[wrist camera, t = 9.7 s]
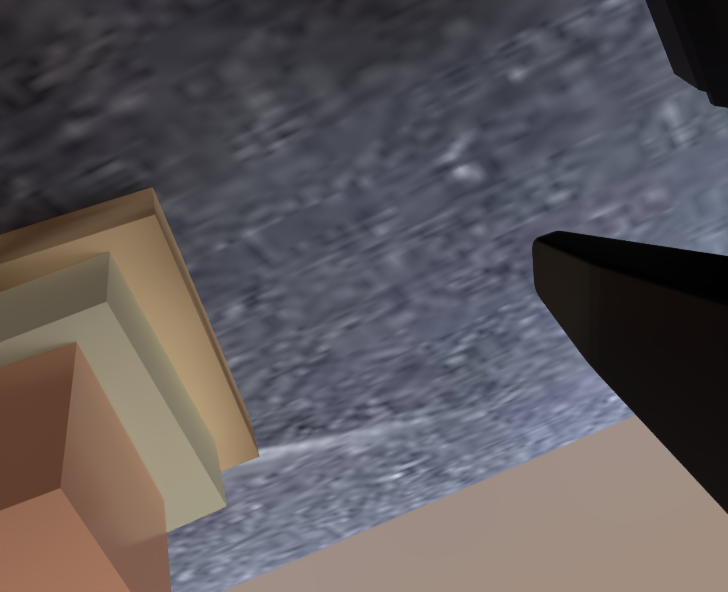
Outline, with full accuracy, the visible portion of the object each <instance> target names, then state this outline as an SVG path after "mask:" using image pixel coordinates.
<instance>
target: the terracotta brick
mask: <svg viewBox="0 0 728 592" xmlns="http://www.w3.org/2000/svg"><path fill="white" fill-rule="evenodd" d="M0 592H171V583H170V570H169V557H168V544H167V532H166V519H165V506H164V499H163V497H162V496H161V494H160V492H159V490H158V488H157V487H156V485H155V483H154V481H153V479H152V478H151V476H150V474H149V472H148V470H147V468H146V467H145V465H144V463H143V461H142V459H141V458H140V456H139V454H138V452H137V450H136V448H135V447H134V445H133V443H132V441H131V439H130V438H129V436H128V434H127V432H126V430H125V429H124V427H123V425H122V423H121V421H120V419H119V418H118V416H117V414H116V412H115V410H114V409H113V407H112V405H111V403H110V401H109V399H108V398H107V396H106V394H105V392H104V390H103V389H102V387H101V385H100V383H99V381H98V380H97V378H96V376H95V374H94V372H93V370H92V369H91V367H90V365H89V363H88V361H87V360H86V358H85V356H84V354H83V352H82V351H81V349H80V347H79V345H78V343H77V342H76V343H73V344H70V345H67V346H64V347H61V348H58V349H55V350H52V351H49V352H46V353H43V354H40V355H37V356H34V357H31V358H28V359H25V360H22V361H19V362H16V363H13V364H10V365H7V366H4V367H1V368H0Z"/></svg>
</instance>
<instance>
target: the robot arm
mask: <svg viewBox="0 0 728 592" xmlns="http://www.w3.org/2000/svg"><path fill="white" fill-rule="evenodd" d="M646 3H647V5H648V8H649V10H650V13H651V16H652V18H653V21H654V23H655V26H656V28H657V31H658V34H659V36H660V39H661V41H662V44H663V46H664V49H665V51H666V54H667V57H668V59H669V62H670V64H671V67H672V69H673V72H674V74H676V75H677V76H679V77H680V78H682V79H683V80H685V81H686V82H688V83H689V84H691V85H692V86H694V87H695V88H697V89H698V90H701V91H705V92H706V93H707V95H708V98H709V101H710V103H711V104H713V105H714V106H719V107H726V108H728V0H646ZM532 255H533V274H534V285H535V289H536V292H537V294H538V296H539V297H540V299H541V300H542V301H543V303H544V304H545V305H546V307H547V308H548V310H549V311H550V312H551V314H552V315H553V316H554V318H555V319H556V320H557V322H558V323H559V325H560V326H561V327H562V329H563V330H564V331H565V333H566V334H567V335H568V337H569V338H570V340H571V341H572V342H573V344H574V345H575V346H576V348H577V349H578V351H579V352H580V353H581V354H582V356H583V357H584V358H585V360H586V361H587V362H588V363H589V364H590V366H591V367H592V368H593V369H594V370H595V371H596V372H597V374H598V375H599V376H600V377H601V378H602V379H603V380H604V381H605V382H606V383H607V384H608V385H609V387H610V388H611V389H612V390H613V391H614V392H615V393H616V394H617V395H618V396H619V397H620V398H621V399H622V401H623V402H624V403H625V404H626V405H627V406H628V407H629V408H630V409H631V410H632V411H633V412H634V413H635V415H636V416H637V417H638V418H639V419H640V420H641V421H642V422H643V423H644V424H645V425H646V426H647V427H648V428H649V429H650V431H651V432H652V433H654V435H655V436H656V437H657V438H658V439H659V440H660V441H661V443H662V444H663V445H664V446H665V447H666V448H667V449H668V450H669V451H670V452H671V453H672V454H673V455H674V456H675V457H676V459H677V460H678V461H679V462H680V463H681V464H682V465H683V466H684V467H685V468H686V469H687V470H688V472H689V473H690V474H691V475H692V476H693V477H694V478H695V479H696V480H697V481H698V482H699V484H701V486H702V487H703V488H704V489H705V490H706V491H707V492H708V493H709V494H710V495H711V496H712V497H713V499H714V500H715V501H716V502H717V503H718V504H719V505H720V506H721V507H722V508H723V509H724V510H725V512H726V513H727V514H728V256H724V255H717V254H711V253H704V252H697V251H691V250H684V249H678V248H671V247H664V246H658V245H651V244H644V243H638V242H631V241H625V240H618V239H611V238H605V237H598V236H591V235H585V234H578V233H572V232H565V231H554V232H551V233H549V234H546V235H543V236H540V237H538V238H536V239H535V241H534V242H533V246H532Z"/></svg>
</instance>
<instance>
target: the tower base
mask: <svg viewBox="0 0 728 592" xmlns="http://www.w3.org/2000/svg"><path fill="white" fill-rule="evenodd" d="M107 252H110V253H111V254H112V256H113V258H114V260H115V262H116V263H117V265H118V267H119V269H120V271H121V272H122V274H123V276H124V278H125V280H126V281H127V283H128V285H129V287H130V289H131V290H132V292H133V294H134V296H135V298H136V299H137V301H138V303H139V305H140V307H141V309H142V310H143V312H144V314H145V316H146V318H147V319H148V321H149V323H150V325H151V327H152V328H153V330H154V332H155V334H156V336H157V337H158V339H159V341H160V343H161V345H162V346H163V348H164V350H165V352H166V354H167V355H168V357H169V359H170V361H171V363H172V364H173V366H174V368H175V370H176V372H177V373H178V375H179V377H180V379H181V381H182V382H183V384H184V386H185V388H186V390H187V391H188V393H189V395H190V397H191V399H192V400H193V402H194V404H195V406H196V408H197V410H198V411H199V413H200V415H201V417H202V419H203V420H204V422H205V424H206V426H207V428H208V429H209V431H210V433H211V435H212V437H213V438H214V440H215V442H216V446H217V452H218V458H219V464H220V470H221V471H224V470H226V469H229V468H231V467H234V466H236V465H239V464H241V463H244V462H246V461H249V460H251V459H254V458H257V457H259V453H258V449H257V445H256V441H255V437H254V433H253V429H252V425H251V421H250V417H249V414H248V412H247V409H246V407H245V405H244V402H243V400H242V398H241V395H240V393H239V390H238V388H237V386H236V383H235V381H234V379H233V376H232V374H231V372H230V369H229V367H228V364H227V362H226V360H225V357H224V355H223V353H222V350H221V348H220V346H219V343H218V341H217V338H216V336H215V334H214V331H213V329H212V327H211V324H210V322H209V320H208V317H207V315H206V312H205V310H204V308H203V305H202V303H201V301H200V298H199V296H198V293H197V291H196V289H195V286H194V284H193V282H192V279H191V277H190V275H189V272H188V270H187V267H186V265H185V263H184V260H183V258H182V256H181V253H180V251H179V249H178V246H177V244H176V241H175V239H174V237H173V234H172V232H171V230H170V227H169V225H168V223H167V220H166V218H165V215H164V213H163V211H162V208H161V206H160V204H159V201H158V199H157V197H156V194H155V192H154V189H153V187H151V188H148V189H144V190H141V191H138V192H135V193H132V194H128V195H125V196H122V197H119V198H116V199H112V200H109V201H106V202H103V203H100V204H96V205H93V206H90V207H87V208H84V209H80V210H77V211H74V212H71V213H68V214H64V215H61V216H58V217H55V218H52V219H48V220H45V221H42V222H39V223H35V224H32V225H29V226H26V227H23V228H19V229H16V230H13V231H10V232H7V233H3V234H0V292H2V291H5V290H8V289H10V288H13V287H16V286H18V285H21V284H24V283H26V282H29V281H32V280H35V279H37V278H40V277H43V276H45V275H48V274H51V273H53V272H56V271H59V270H62V269H64V268H67V267H70V266H72V265H75V264H78V263H80V262H83V261H86V260H88V259H91V258H94V257H97V256H99V255H102V254H105V253H107Z"/></svg>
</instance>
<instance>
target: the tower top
mask: <svg viewBox="0 0 728 592" xmlns="http://www.w3.org/2000/svg"><path fill="white" fill-rule="evenodd" d="M76 342H77V343H78V345H79V347H80V349H81V351H82V352H83V354H84V356H85V358H86V360H87V361H88V363H89V365H90V367H91V369H92V370H93V372H94V374H95V376H96V378H97V380H98V381H99V383H100V385H101V387H102V389H103V390H104V392H105V394H106V396H107V398H108V399H109V401H110V403H111V405H112V407H113V409H114V410H115V412H116V414H117V416H118V418H119V419H120V421H121V423H122V425H123V427H124V429H125V430H126V432H127V434H128V436H129V438H130V439H131V441H132V443H133V445H134V447H135V448H136V450H137V452H138V454H139V456H140V458H141V459H142V461H143V463H144V465H145V467H146V468H147V470H148V472H149V474H150V476H151V478H152V479H153V481H154V483H155V485H156V487H157V488H158V490H159V492H160V494H161V496H162V497H163V499H164V506H165V519H166V532H169V531H172V530H174V529H176V528H179V527H181V526H183V525H185V524H188V523H190V522H192V521H194V520H197V519H199V518H201V517H203V516H206V515H208V514H210V513H213V512H215V511H217V510H219V509H222V508H224V507H226V506H227V504H226V499H225V493H224V487H223V481H222V475H221V470H220V464H219V458H218V452H217V446H216V442H215V440H214V438H213V437H212V435H211V433H210V431H209V429H208V428H207V426H206V424H205V422H204V420H203V419H202V417H201V415H200V413H199V411H198V410H197V408H196V406H195V404H194V402H193V400H192V399H191V397H190V395H189V393H188V391H187V390H186V388H185V386H184V384H183V382H182V381H181V379H180V377H179V375H178V373H177V372H176V370H175V368H174V366H173V364H172V363H171V361H170V359H169V357H168V355H167V354H166V352H165V350H164V348H163V346H162V345H161V343H160V341H159V339H158V337H157V336H156V334H155V332H154V330H153V328H152V327H151V325H150V323H149V321H148V319H147V318H146V316H145V314H144V312H143V310H142V309H141V307H140V305H139V303H138V301H137V299H136V298H135V296H134V294H133V292H132V290H131V289H130V287H129V285H128V283H127V281H126V280H125V278H124V276H123V274H122V272H121V271H120V269H119V267H118V265H117V263H116V262H115V260H114V258H113V256H112V254H111V253H110V252H107V253H105V254H102V255H99V256H97V257H94V258H91V259H88V260H86V261H83V262H80V263H78V264H75V265H72V266H70V267H67V268H64V269H62V270H59V271H56V272H53V273H51V274H48V275H45V276H43V277H40V278H37V279H35V280H32V281H29V282H26V283H24V284H21V285H18V286H16V287H13V288H10V289H8V290H5V291H2V292H0V368H1V367H4V366H7V365H10V364H13V363H16V362H19V361H22V360H25V359H28V358H31V357H34V356H37V355H40V354H43V353H46V352H49V351H52V350H55V349H58V348H61V347H64V346H67V345H70V344H73V343H76Z"/></svg>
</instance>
